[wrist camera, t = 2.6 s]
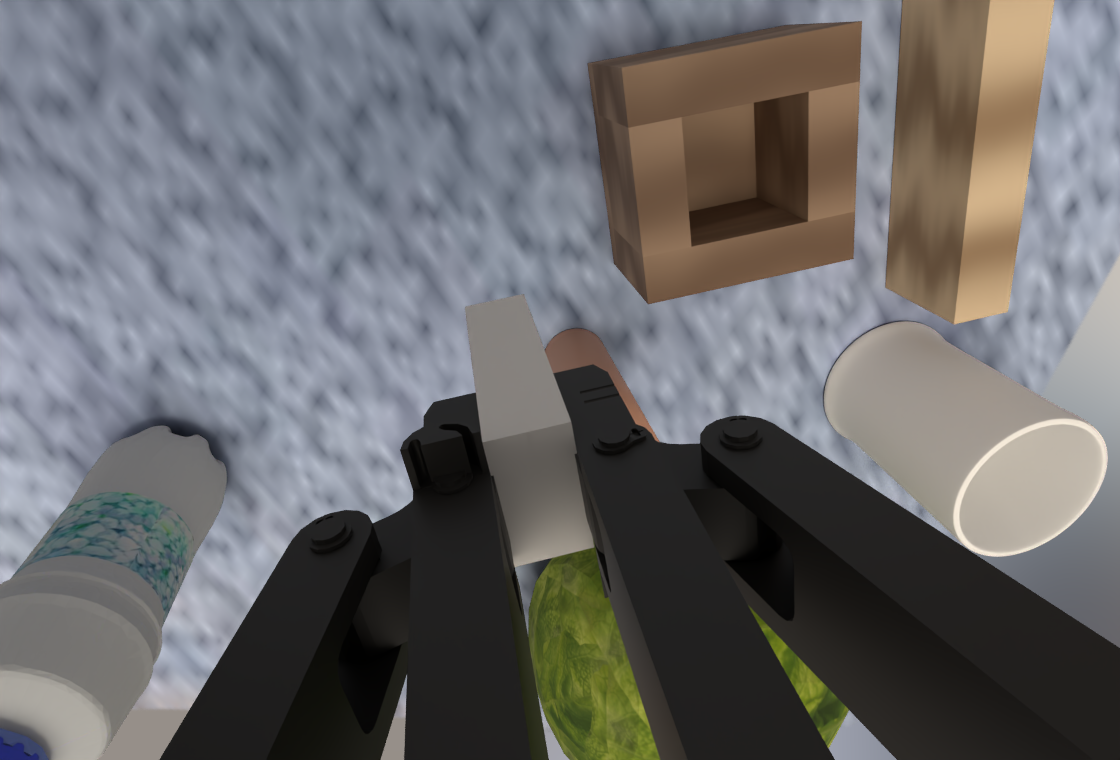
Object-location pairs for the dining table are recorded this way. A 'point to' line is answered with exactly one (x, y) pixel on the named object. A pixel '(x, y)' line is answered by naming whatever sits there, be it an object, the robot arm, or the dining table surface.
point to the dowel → (587, 350)
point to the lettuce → (617, 668)
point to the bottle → (102, 595)
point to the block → (730, 156)
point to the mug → (965, 438)
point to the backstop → (963, 150)
